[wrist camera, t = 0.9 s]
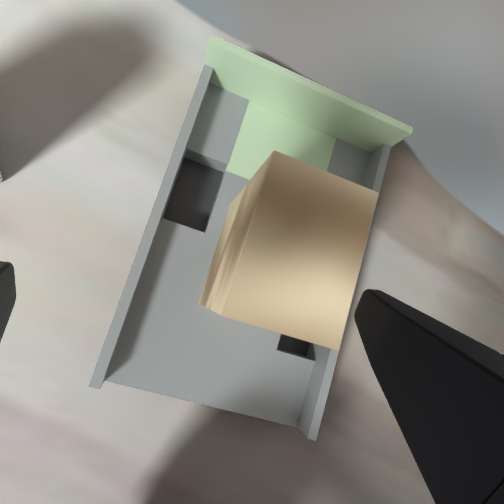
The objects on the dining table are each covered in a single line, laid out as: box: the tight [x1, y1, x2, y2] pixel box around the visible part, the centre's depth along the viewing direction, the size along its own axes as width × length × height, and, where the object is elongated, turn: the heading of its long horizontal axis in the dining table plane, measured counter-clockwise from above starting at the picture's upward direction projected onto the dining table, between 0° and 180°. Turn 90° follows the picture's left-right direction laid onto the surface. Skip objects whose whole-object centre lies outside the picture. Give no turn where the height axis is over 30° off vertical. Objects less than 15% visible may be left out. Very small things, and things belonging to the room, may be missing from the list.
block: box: [198, 150, 379, 351], centre depth 20 cm, size 7×5×10 cm
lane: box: [89, 34, 413, 441], centre depth 24 cm, size 21×14×6 cm, turn 163°
